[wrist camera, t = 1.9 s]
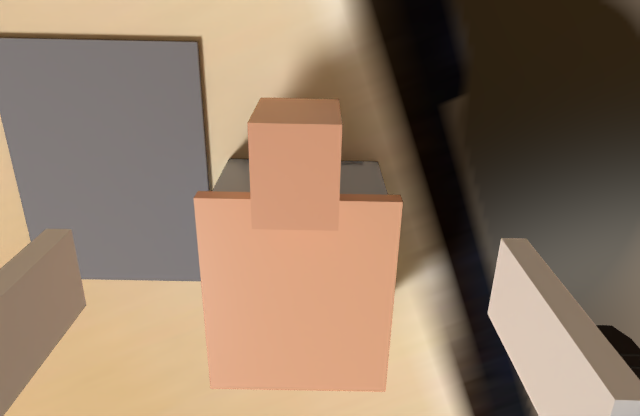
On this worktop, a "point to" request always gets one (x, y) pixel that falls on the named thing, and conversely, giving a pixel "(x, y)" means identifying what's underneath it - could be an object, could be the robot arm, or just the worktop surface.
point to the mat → (109, 149)
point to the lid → (297, 262)
